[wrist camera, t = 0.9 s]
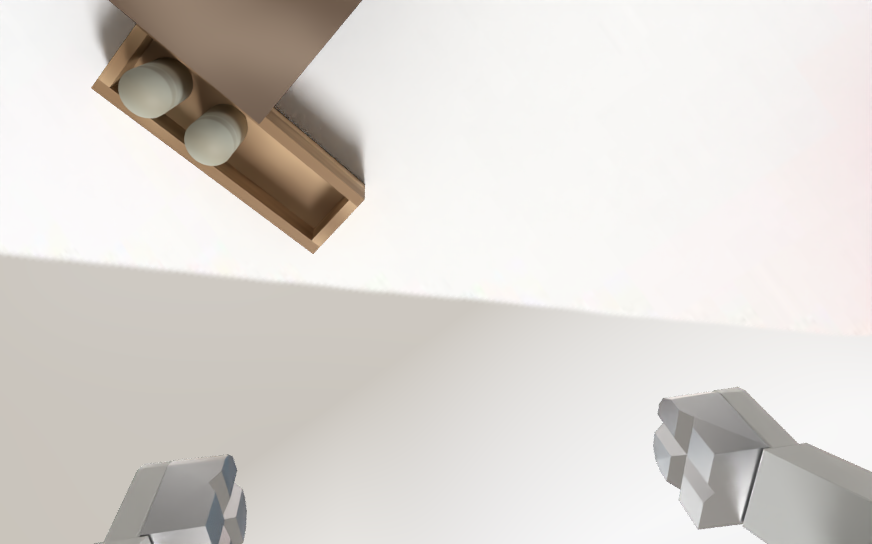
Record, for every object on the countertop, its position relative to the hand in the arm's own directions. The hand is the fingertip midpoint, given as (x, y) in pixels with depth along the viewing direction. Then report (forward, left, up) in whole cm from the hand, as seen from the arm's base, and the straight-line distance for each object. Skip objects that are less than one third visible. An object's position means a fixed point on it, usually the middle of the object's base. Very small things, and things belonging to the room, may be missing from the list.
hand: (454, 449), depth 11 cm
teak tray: (+9, -6, -36) cm, 37 cm away
